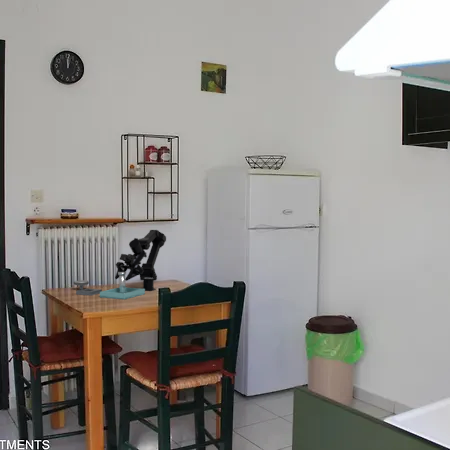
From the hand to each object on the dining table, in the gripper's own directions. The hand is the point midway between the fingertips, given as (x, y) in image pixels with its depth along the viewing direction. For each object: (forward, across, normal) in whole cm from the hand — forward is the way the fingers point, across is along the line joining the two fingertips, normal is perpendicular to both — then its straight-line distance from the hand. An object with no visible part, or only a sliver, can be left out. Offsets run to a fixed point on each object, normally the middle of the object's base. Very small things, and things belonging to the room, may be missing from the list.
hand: (120, 279), depth 314 cm
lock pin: (+5, 0, +7) cm, 8 cm away
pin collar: (+12, -19, +1) cm, 22 cm away
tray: (+5, 0, +7) cm, 9 cm away
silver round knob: (+8, -35, +4) cm, 36 cm away
